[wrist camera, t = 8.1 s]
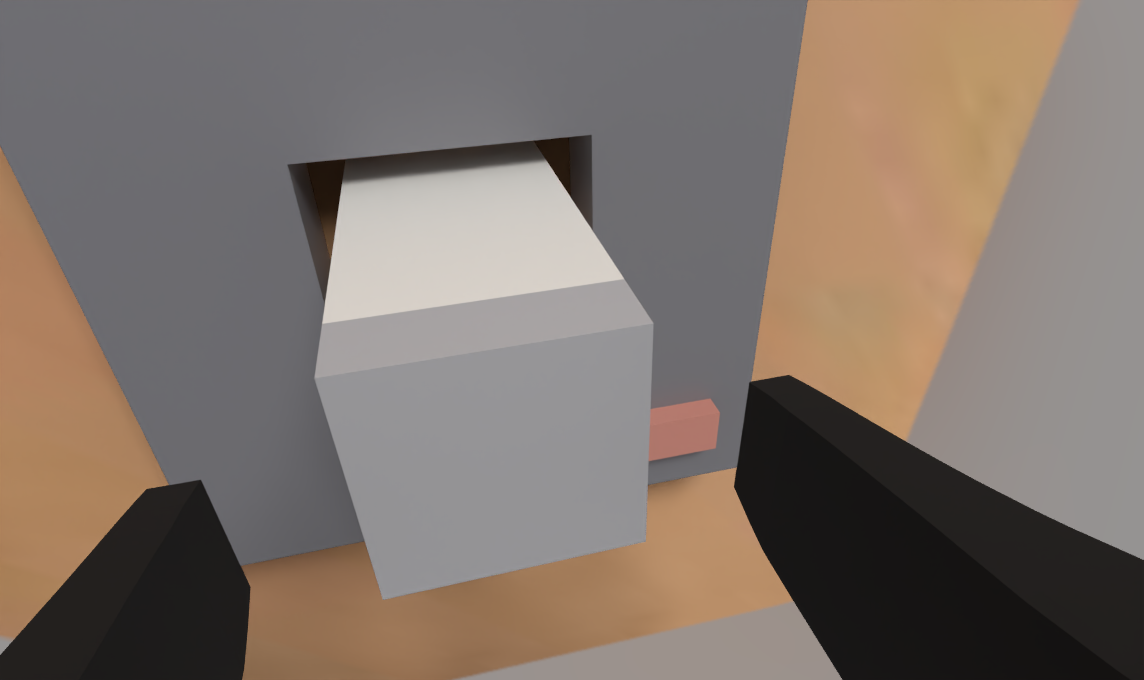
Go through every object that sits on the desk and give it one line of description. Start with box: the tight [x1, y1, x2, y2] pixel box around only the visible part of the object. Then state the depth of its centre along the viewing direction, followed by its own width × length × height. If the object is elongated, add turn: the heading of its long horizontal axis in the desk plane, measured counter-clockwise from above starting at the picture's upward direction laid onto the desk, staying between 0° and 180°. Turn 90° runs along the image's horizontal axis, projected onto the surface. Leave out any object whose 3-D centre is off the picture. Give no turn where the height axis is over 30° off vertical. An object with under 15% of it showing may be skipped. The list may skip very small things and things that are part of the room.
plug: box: [314, 141, 654, 600], centre depth 12 cm, size 4×4×8 cm
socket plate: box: [0, 0, 808, 566], centre depth 14 cm, size 14×14×3 cm
